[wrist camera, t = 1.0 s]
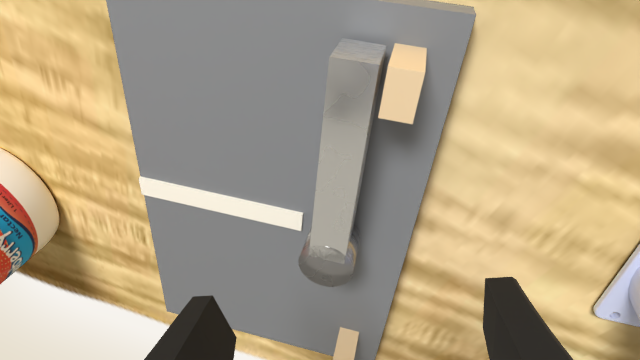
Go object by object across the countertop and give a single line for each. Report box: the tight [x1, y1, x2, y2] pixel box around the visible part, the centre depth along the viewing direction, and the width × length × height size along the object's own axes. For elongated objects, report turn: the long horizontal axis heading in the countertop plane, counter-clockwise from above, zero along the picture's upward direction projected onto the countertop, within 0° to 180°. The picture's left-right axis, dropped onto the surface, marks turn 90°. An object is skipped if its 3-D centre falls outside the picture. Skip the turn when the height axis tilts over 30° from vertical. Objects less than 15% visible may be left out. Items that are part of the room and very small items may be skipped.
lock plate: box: [106, 0, 476, 360], centre depth 23 cm, size 16×24×4 cm, turn 175°
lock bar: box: [298, 38, 386, 287], centre depth 19 cm, size 12×3×2 cm, turn 175°
